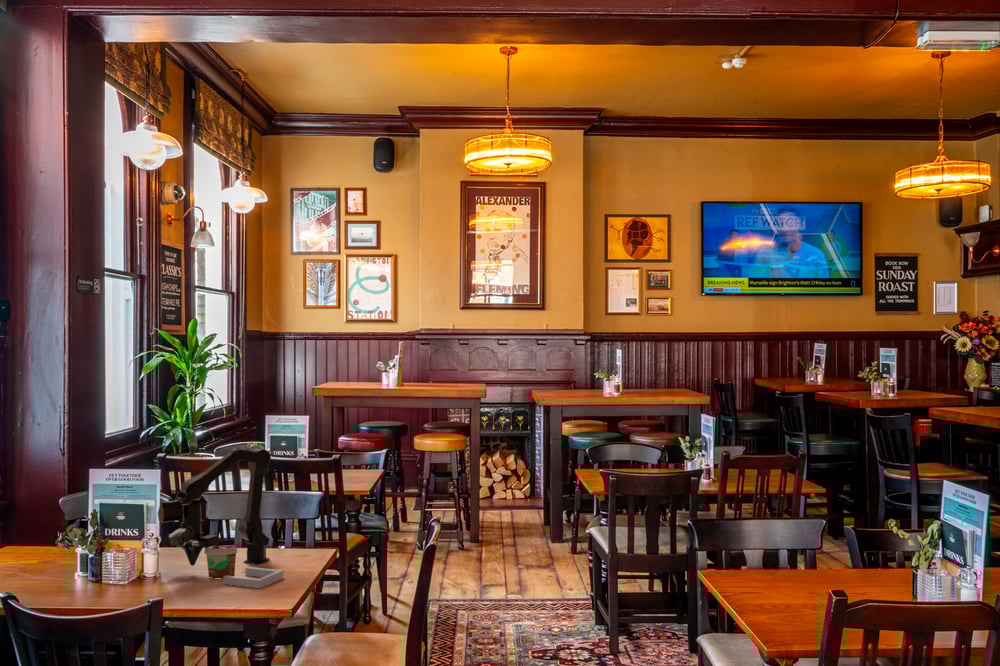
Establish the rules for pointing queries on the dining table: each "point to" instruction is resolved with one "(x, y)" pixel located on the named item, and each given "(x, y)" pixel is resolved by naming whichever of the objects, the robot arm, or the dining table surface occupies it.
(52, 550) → the dining table surface
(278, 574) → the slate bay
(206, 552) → the food container
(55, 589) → the dining table surface
